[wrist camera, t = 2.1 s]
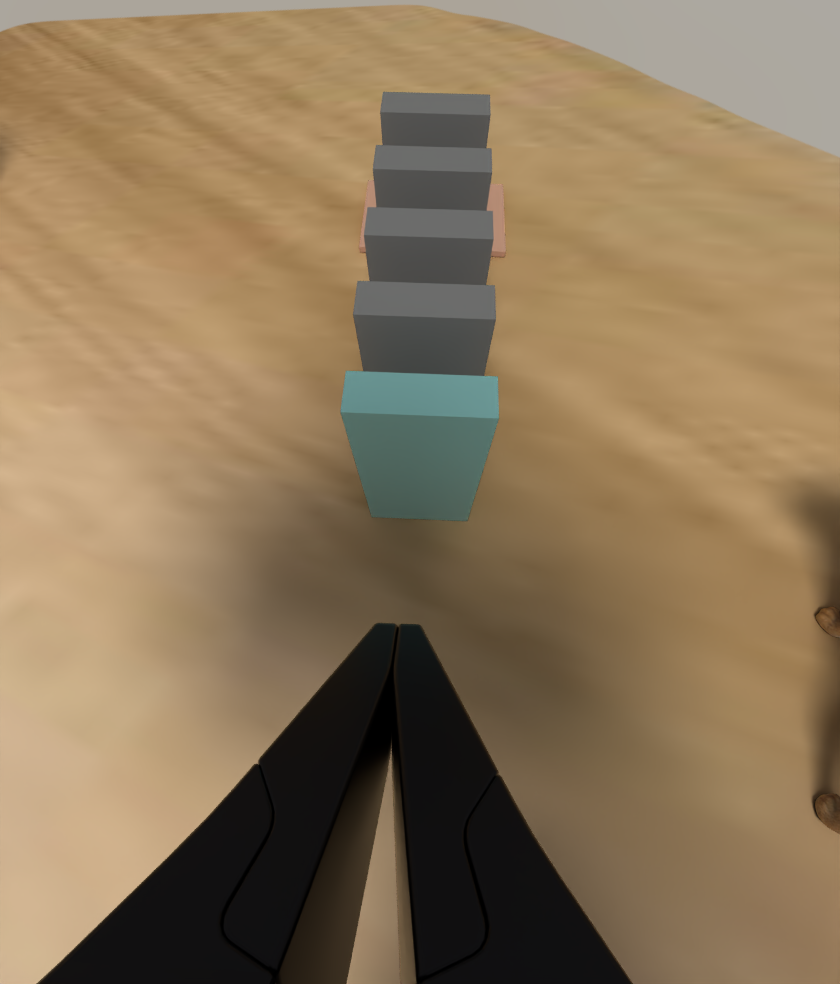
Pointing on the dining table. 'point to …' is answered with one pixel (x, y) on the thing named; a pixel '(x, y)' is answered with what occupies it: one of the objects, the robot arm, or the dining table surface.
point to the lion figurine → (831, 806)
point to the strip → (493, 205)
